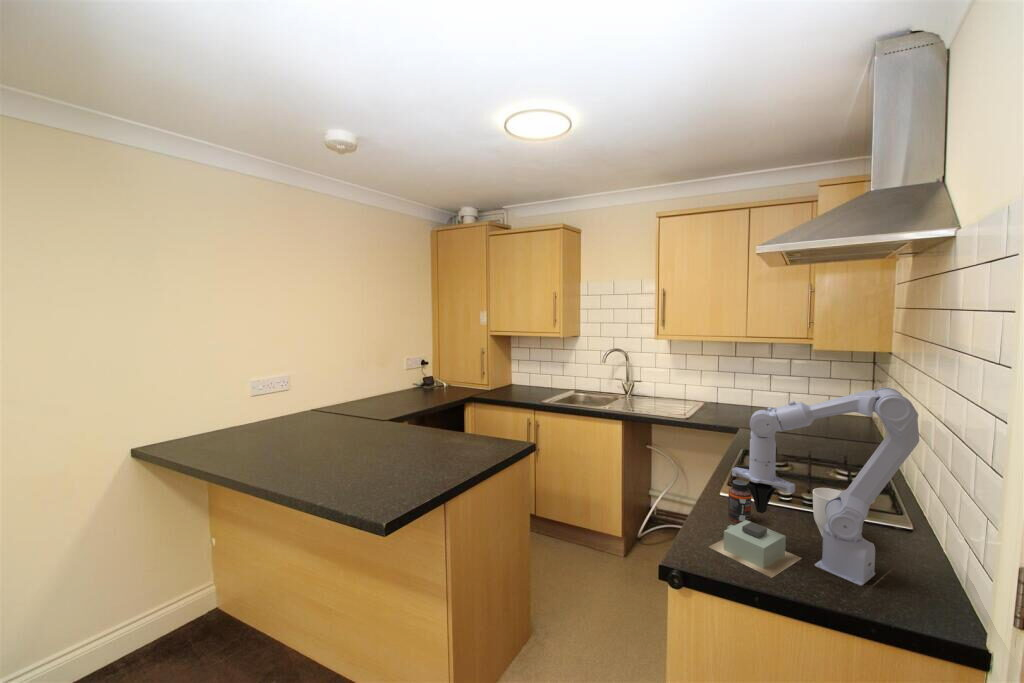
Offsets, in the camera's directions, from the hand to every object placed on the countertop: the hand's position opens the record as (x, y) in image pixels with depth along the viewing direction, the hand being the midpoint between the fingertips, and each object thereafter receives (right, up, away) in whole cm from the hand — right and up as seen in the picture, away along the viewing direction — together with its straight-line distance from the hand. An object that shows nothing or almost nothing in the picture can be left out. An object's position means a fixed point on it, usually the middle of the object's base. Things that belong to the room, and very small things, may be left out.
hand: (761, 511), depth 113 cm
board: (-2, -11, -1) cm, 11 cm away
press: (-2, -10, -1) cm, 10 cm away
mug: (+23, -10, +8) cm, 26 cm away
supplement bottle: (+3, -9, +17) cm, 20 cm away
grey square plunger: (-2, -9, -1) cm, 10 cm away
